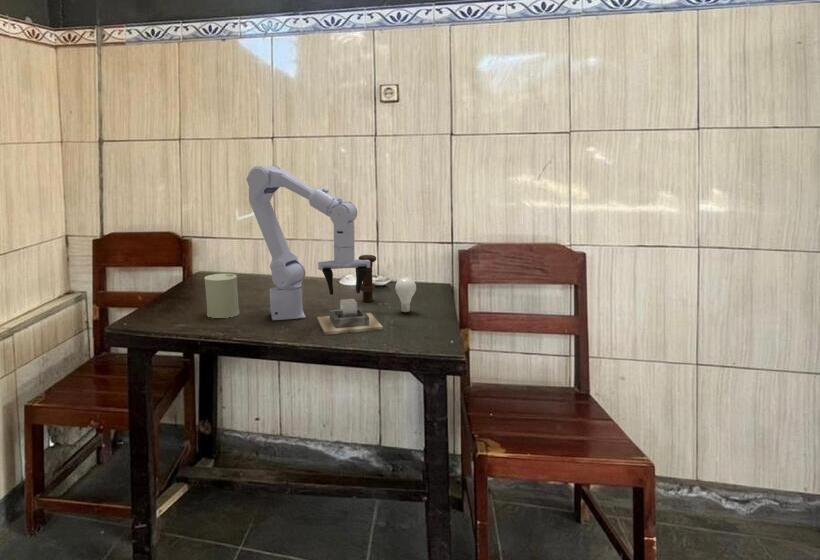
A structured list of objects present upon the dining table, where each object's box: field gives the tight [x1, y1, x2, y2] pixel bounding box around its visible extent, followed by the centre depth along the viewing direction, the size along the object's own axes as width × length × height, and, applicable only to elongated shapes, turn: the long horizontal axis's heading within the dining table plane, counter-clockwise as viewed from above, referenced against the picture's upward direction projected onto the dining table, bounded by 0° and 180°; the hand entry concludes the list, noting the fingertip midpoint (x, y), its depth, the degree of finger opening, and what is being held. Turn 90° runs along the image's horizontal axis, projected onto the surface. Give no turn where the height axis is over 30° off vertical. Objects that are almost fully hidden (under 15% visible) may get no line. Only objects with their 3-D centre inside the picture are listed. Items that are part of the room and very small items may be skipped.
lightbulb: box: [394, 276, 417, 314], centre depth 163 cm, size 6×6×11 cm
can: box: [204, 273, 240, 319], centre depth 159 cm, size 9×9×12 cm
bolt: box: [358, 254, 377, 303], centre depth 175 cm, size 6×5×15 cm
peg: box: [339, 298, 358, 318], centre depth 152 cm, size 4×4×6 cm
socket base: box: [316, 307, 384, 336], centre depth 152 cm, size 16×14×3 cm
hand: (344, 293), depth 153 cm, fingers open, 7 cm apart
